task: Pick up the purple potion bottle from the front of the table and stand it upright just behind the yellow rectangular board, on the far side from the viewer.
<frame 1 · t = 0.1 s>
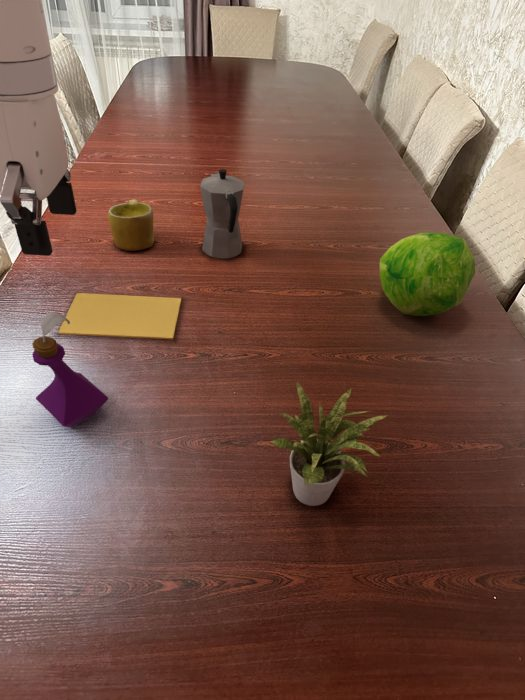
hand: (51, 232, 62), 28 cm above the table, tool pointing down, fingers open, 9 cm apart
coffeepot: (223, 251, 116), on the table
house plant: (314, 498, 69), on the table
lettuce: (413, 306, 104), on the table
mug: (135, 240, 117), on the table
purple potion bottle: (76, 414, 78), on the table
yellow rectangular board: (123, 316, 96), on the table
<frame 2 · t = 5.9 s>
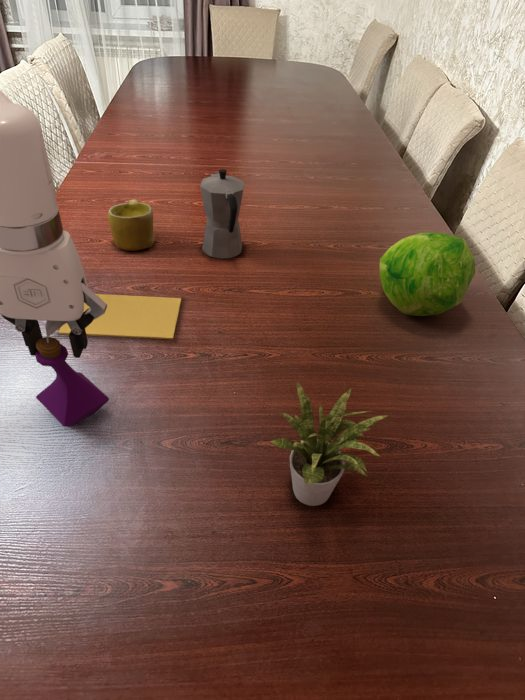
hand: (58, 348, 70), 13 cm above the table, tool pointing down, fingers closed on purple potion bottle, 4 cm apart
purple potion bottle: (76, 413, 78), on the table, touching gripper
everything else where it was.
when the fingers open (13 cm above the table, at t = 14.3 s): purple potion bottle stays where it is, on the table.
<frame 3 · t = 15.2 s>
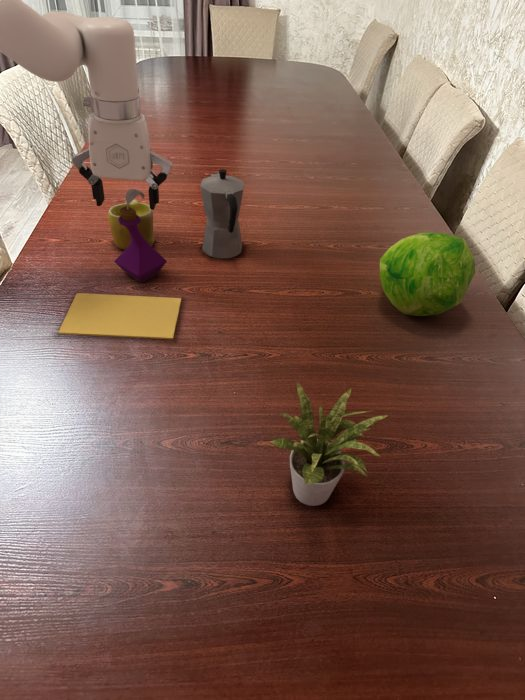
hand: (127, 204, 97), 15 cm above the table, tool pointing down, fingers open, 9 cm apart
purple potion bottle: (142, 275, 107), on the table
everything else where it was.
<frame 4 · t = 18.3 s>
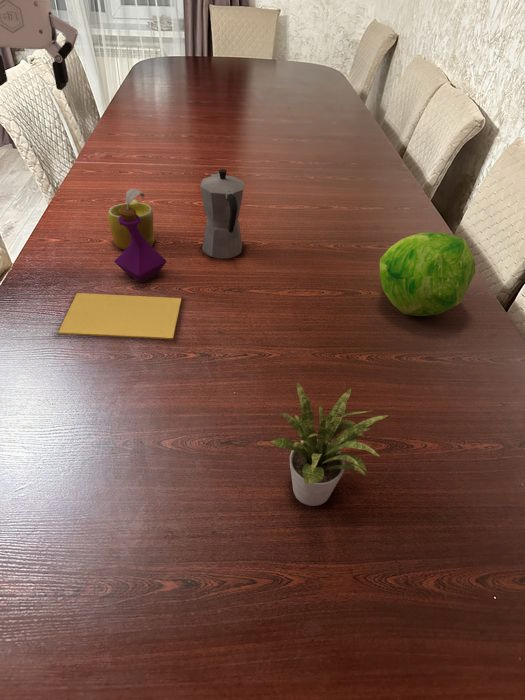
hand: (32, 85, 85), 34 cm above the table, tool pointing down, fingers open, 9 cm apart
nothing on the table moved.
at the end: purple potion bottle inside the target area on the table beside the yellow rectangular board (1.0 cm from its centre), on the table; purple potion bottle tilted 0° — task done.
